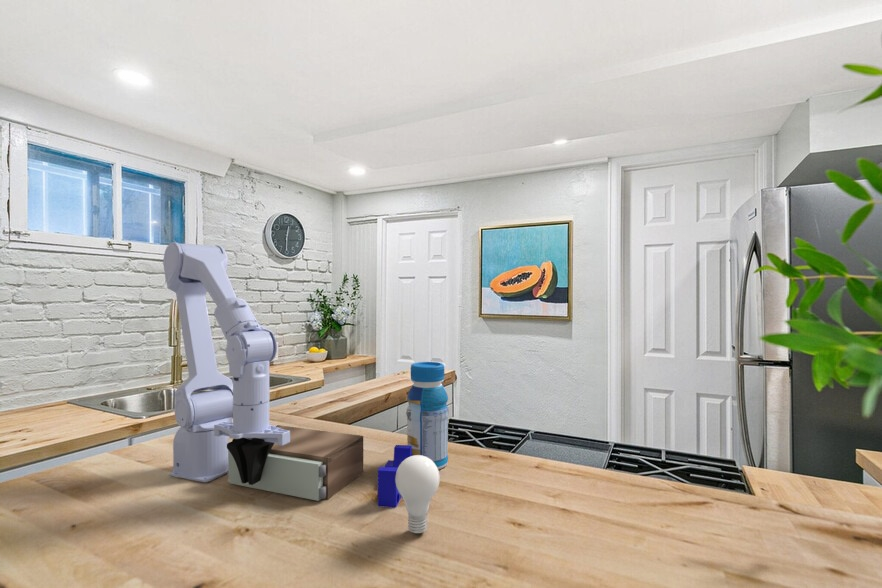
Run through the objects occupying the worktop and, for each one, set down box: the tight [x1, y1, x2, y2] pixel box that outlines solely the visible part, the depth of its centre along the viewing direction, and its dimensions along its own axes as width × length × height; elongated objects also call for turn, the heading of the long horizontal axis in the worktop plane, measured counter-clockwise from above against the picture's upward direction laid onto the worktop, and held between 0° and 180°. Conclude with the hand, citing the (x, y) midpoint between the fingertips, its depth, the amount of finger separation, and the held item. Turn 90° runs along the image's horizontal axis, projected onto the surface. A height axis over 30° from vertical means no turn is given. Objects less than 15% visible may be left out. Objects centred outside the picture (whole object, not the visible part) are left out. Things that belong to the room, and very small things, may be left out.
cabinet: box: [269, 424, 365, 500], centre depth 84 cm, size 20×12×7 cm, turn 70°
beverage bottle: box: [405, 361, 450, 470], centre depth 90 cm, size 8×8×20 cm
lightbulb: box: [395, 455, 441, 535], centre depth 65 cm, size 6×6×11 cm
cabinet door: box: [227, 450, 326, 502], centre depth 77 cm, size 20×1×6 cm, turn 69°
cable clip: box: [377, 444, 412, 508], centre depth 78 cm, size 12×4×6 cm, turn 171°
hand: (251, 481), depth 76 cm, fingers closed, pressing on cabinet door
